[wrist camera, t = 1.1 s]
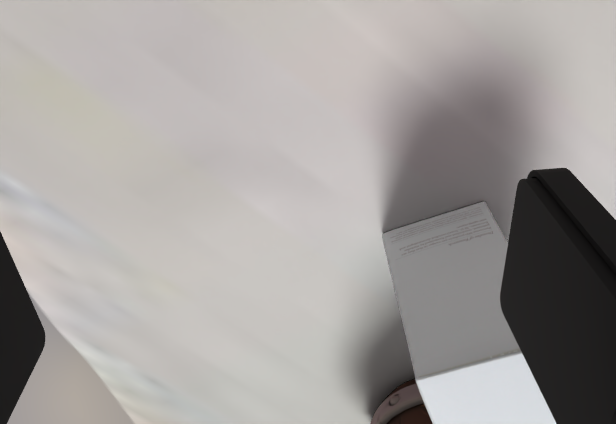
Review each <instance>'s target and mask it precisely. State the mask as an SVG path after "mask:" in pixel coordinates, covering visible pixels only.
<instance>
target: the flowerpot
mask: <svg viewBox="0 0 616 424" xmlns="http://www.w3.org/2000/svg"><path fill="white" fill-rule="evenodd" d="M371 424H433V423H432V421H431V419H430V416H429V414H428V411H427V409H426V406H425V404H424V402H423V399H422V397H421V394H420V392H419V389H418V386H417V383H416V380H415V379H413V380H411V381H408V382H406V383H404V384H402V385H400V386H399V387H398V388H396V389H395V390H394V391H393V392H392V393H391V394H390V395H389V396H388V397H387V398H386V399H385V400H384V401H383V402H382V404H381V405H380V406H379V407H378V409H377V410H376V412H375V413H374V415H373V418H372V421H371Z"/></svg>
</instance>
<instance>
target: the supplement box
mask: <svg viewBox="0 0 616 424" xmlns="http://www.w3.org/2000/svg"><path fill="white" fill-rule="evenodd" d="M382 238H383V243H384V248H385V252H386V256H387V261H388V265H389V269H390V273H391V277H392V282H393V286H394V290H395V294H396V298H397V302H398V306H399V310H400V315H401V319H402V323H403V327H404V332H405V336H406V340H407V344H408V349H409V353H410V357H411V361H412V366H413V370H414V374H415V380H416V383H417V386H418V389H419V392H420V394H421V397H422V399H423V402H424V404H425V406H426V409H427V411H428V414H429V416H430V419H431V421H432V423H433V424H556V422H555V420H554V418H553V415H552V413H551V411H550V409H549V407H548V405H547V403H546V401H545V399H544V397H543V395H542V393H541V391H540V389H539V387H538V385H537V383H536V381H535V379H534V376H533V374H532V372H531V370H530V368H529V366H528V364H527V362H526V360H525V358H524V356H523V354H522V352H521V350H520V348H519V346H518V344H517V342H516V340H515V337H514V335H513V333H512V331H511V329H510V327H509V325H508V323H507V321H506V319H505V317H504V315H503V312H502V309H501V304H500V291H501V285H502V279H503V272H504V266H505V260H506V254H507V248H508V242H507V240H506V239H505V237H504V235H503V233H502V231H501V229H500V228H499V226H498V224H497V222H496V220H495V218H494V217H493V215H492V213H491V211H490V209H489V208H488V206H487V203H486V202H480V203H477V204H474V205H470V206H467V207H464V208H460V209H457V210H454V211H451V212H448V213H444V214H441V215H438V216H435V217H432V218H428V219H425V220H422V221H419V222H416V223H413V224H409V225H406V226H403V227H400V228H397V229H394V230H391V231H388V232H386V233H384V234H383V235H382Z"/></svg>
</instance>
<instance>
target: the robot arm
mask: <svg viewBox="0 0 616 424" xmlns="http://www.w3.org/2000/svg"><path fill="white" fill-rule="evenodd" d="M500 304H501V309H502V312H503V315H504V317H505V319H506V321H507V323H508V325H509V327H510V329H511V331H512V333H513V335H514V337H515V340H516V342H517V344H518V346H519V348H520V350H521V352H522V354H523V356H524V358H525V360H526V362H527V364H528V366H529V368H530V370H531V372H532V374H533V376H534V379H535V381H536V383H537V385H538V387H539V389H540V391H541V393H542V395H543V397H544V399H545V401H546V403H547V405H548V407H549V409H550V411H551V413H552V415H553V418H554V420H555V422H556V424H616V220H615V219H614V218H613V217H612V216H611V215H610V213H609V212H608V211H607V210H606V209H605V208H604V207H603V206H602V205H601V204H600V203H599V202H598V201H597V199H596V198H595V197H594V196H593V195H592V194H591V193H590V192H589V191H588V190H587V189H586V188H585V187H584V185H583V184H582V183H581V182H580V181H579V180H578V179H577V178H576V177H575V176H574V175H573V174H572V173H571V171H570V170H568V169H567V168H556V169H543V170H533V171H531V172H530V173H529V175H528V177H527V179H521V180H520V181H519V183H518V186H517V191H516V198H515V204H514V210H513V216H512V223H511V229H510V235H509V241H508V248H507V254H506V260H505V266H504V272H503V279H502V285H501V291H500ZM44 344H45V332H44V328H43V326H42V324H41V321H40V319H39V317H38V315H37V313H36V310H35V308H34V306H33V304H32V301H31V299H30V297H29V295H28V292H27V290H26V288H25V286H24V283H23V281H22V279H21V277H20V275H19V272H18V270H17V268H16V266H15V263H14V261H13V259H12V257H11V254H10V252H9V250H8V248H7V245H6V243H5V241H4V239H3V237H2V234H1V232H0V424H7V422H8V420H9V418H10V416H11V414H12V412H13V410H14V408H15V406H16V404H17V401H18V399H19V397H20V395H21V393H22V391H23V389H24V387H25V385H26V383H27V381H28V379H29V377H30V375H31V373H32V371H33V369H34V367H35V365H36V363H37V361H38V359H39V357H40V355H41V353H42V351H43V348H44Z"/></svg>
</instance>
